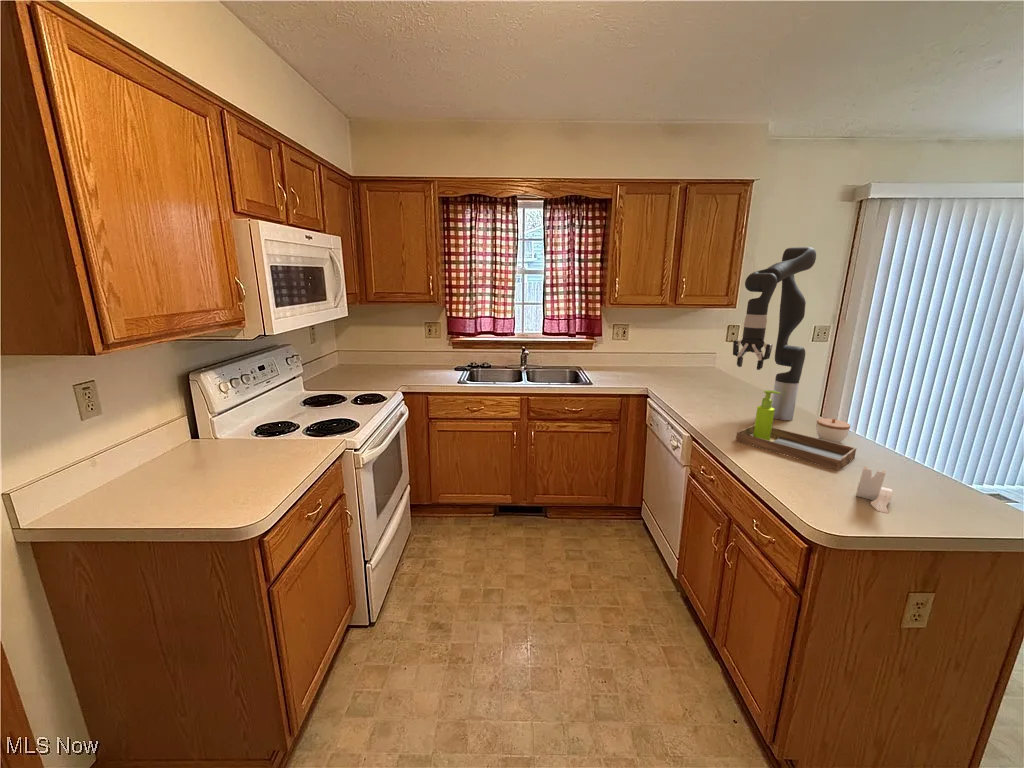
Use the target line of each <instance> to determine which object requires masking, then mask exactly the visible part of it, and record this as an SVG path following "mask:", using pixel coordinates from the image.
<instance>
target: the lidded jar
mask: <svg viewBox="0 0 1024 768" xmlns="http://www.w3.org/2000/svg"><path fill="white" fill-rule="evenodd" d="M815 425H816V426H815V431H816V434H817V437H818V439H822V440H826V441H830V442H834V443H838V444H840V443H841V442H843V441H844V440H846V439H847V437H848V435H849V432H850V429H851V424H850V423H849V422H846V421H843V420H840V419H837V418H836V417H835V418H834V417H832V418H827V417H826V418H824V417H823V418H818V419H817V420H816V423H815Z"/></svg>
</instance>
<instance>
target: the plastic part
mask: <svg viewBox="0 0 1024 768" xmlns="http://www.w3.org/2000/svg"><path fill="white" fill-rule="evenodd" d="M862 468H863V469H862V472H861V476H860V479H859V481H858V483H857V484H858V485H857V488H856V493H855V496H856V497H857V498H858V497H859V498H863V499H866V500H870V506H871V507H873V508H874V509H875V510H876V511H877V512H880V513H884V514H885V513H886V514H889V513H890V512H889V510H888V508H887V506H888V505H890V502H891V500H892V497H893V489H892V488H887V487H883V482H884V479H885V477H886V473H887V470H885V469H882V470H880V471H879V470H878V471H876V473H875V474H874V476H872V469H869V468H868V466H863V467H862Z"/></svg>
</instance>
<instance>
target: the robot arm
mask: <svg viewBox="0 0 1024 768" xmlns="http://www.w3.org/2000/svg"><path fill="white" fill-rule="evenodd" d="M816 260H817V252H816V250H815V248H813V247H810V246H803V247H801V246H800V247H799V246H798V247H788V248H785V249H784V251H783V254H782V258H781V261H780V262H776V263H774V264H772V265H770V266H768V267H767V268H764V269H760V270H756V271H753V272H752V273H750V274H749V275H748V276H747V277H746V278H745V281H744V286H745V288H746V290H747V291H749V292H750V293H751V292H752V293H761V295H760V296H759V297H755V298H750V299H749V300H748V301H747V306H746V314H745V317H744V322H743V331H742V338H741V340H739V339H735V340H733V342H732V343H733V345H732V355H733V356H736V357H737V358H736V366H737V367H738V368H741V367H743V361H744V355H745V354H746V353H755V356H756V357H757V363H756V364H757V366H756V370H757V371H760V370H761V369H763V367H764V366H763V365H764V362H765V360H769V359H770V357H771V353H772V349H773V344H772V343H766V342H765V337H766V329H767V322H768V318H767V317H768V310H769V304H770V302H771V299H772V297H773V294H774V292H775V290H776V288H777V285H778V284H779V283H780V282H781V294H780V304H779V316H778V317H779V318H778V319H779V320H778V322H779V323H778V333H777V339H776V345H775V350H774V362H775V364H777V365H778V366H782V367H783V366H785V367H790V370H789V371H786V372H779V373H777V374H776V375H775V380H774V384H773V385H774V386H773V391H777V392H780V393H781V394H775V393H772V398H771V399H772V406H771V407H772V408H774V409H775V411H774V417H773V419H774V418H775V419H774V420H778V419H780V420H779V421H785V420H789V421H792V419H794V413H795V408H796V403H797V398H798V391H799V385H800V380H801V376H802V373H803V372H802V371H803V367H804V364H805V360H806V349H805V348H804V347H803V346H795V345H789V343H788V341H789V338H790V336H791V334H792V333H793V331H795V330H796V328H797V327H798V326H799V325H800V324H801V322H802V321H803V319H804V318H805V315H806V304H807V301H806V299H805V297H804V295H803V292H802V291H801V290H800V288H799V287H798V285H797V282H796V279H795V274H798V273H800V272H804V271H807V270H810V269H811V268H812V267H813V266H814V265H815V264H816ZM740 346H742V348H741V349H740ZM763 347H764V350H765V351H764V353H763V350H762V348H763Z"/></svg>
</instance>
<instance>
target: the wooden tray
mask: <svg viewBox="0 0 1024 768" xmlns="http://www.w3.org/2000/svg"><path fill="white" fill-rule="evenodd" d="M754 427H755V423H754V424H752V425H751V426H748V427H746V428H743V429H742V430H739V431H737V432H736V435H735V441H736V442H738V441H739V442H740V443H741V442H743V443H742V444H745V443H746V444H745V445H748V444H750V446H752V445H754V446H753V447H755V446H757V447H756V448H759V447H760V449H762V448H763V450H766V449H767V450H766V451H769V450H771V451H770V452H773V451H774V453H776V452H777V454H780V453H781V454H780V455H783V454H785V455H784V456H787V455H788V456H787V457H790V456H791V457H790V458H794V457H795V459H797V458H798V460H801V461H804V460H805V462H808V463H811V462H812V464H815V463H816V465H818V464H819V466H822V467H825V466H826V468H828V467H829V469H833V470H835V469H836V471H840V470H841V469H842V468H843V467H845V466H846V465H847V464H848V463H849V462H851V461H852V460H853V459H854V458H855V456H856V453H857V448H856V447H854V446H850V445H849V446H848V445H845V444H841V443H839V444H838V443H834V442H830V441H826V440H822V439H820V438H817V437H812V436H808V435H804V434H801V433H796V432H792V431H789V430H785V429H781V428H777V427H774V426H772V429H771V435H772V436H771V437H773V436H775V437H774V438H777V437H779V438H777V439H775V440H773V441H772V440H770V441H768V440H765V439H761V438H757V437H754V436H753V434H752V433H754ZM750 434H751V435H750ZM851 459H852V460H851ZM850 460H851V461H850ZM845 464H846V465H845Z"/></svg>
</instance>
